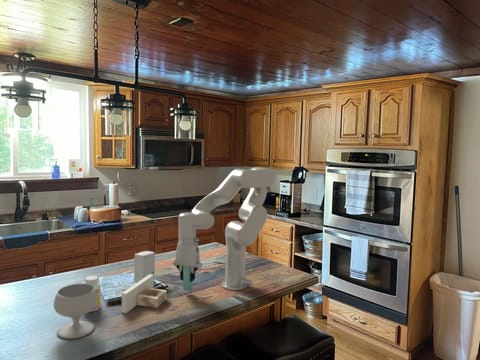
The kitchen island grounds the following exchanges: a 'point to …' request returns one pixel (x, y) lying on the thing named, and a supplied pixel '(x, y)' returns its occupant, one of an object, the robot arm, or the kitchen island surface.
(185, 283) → the dowel
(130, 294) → the wall
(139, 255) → the skincare box
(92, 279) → the supplement bottle
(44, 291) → the kitchen island surface
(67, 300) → the chalice
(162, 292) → the light wooden square frame
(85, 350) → the kitchen island surface
